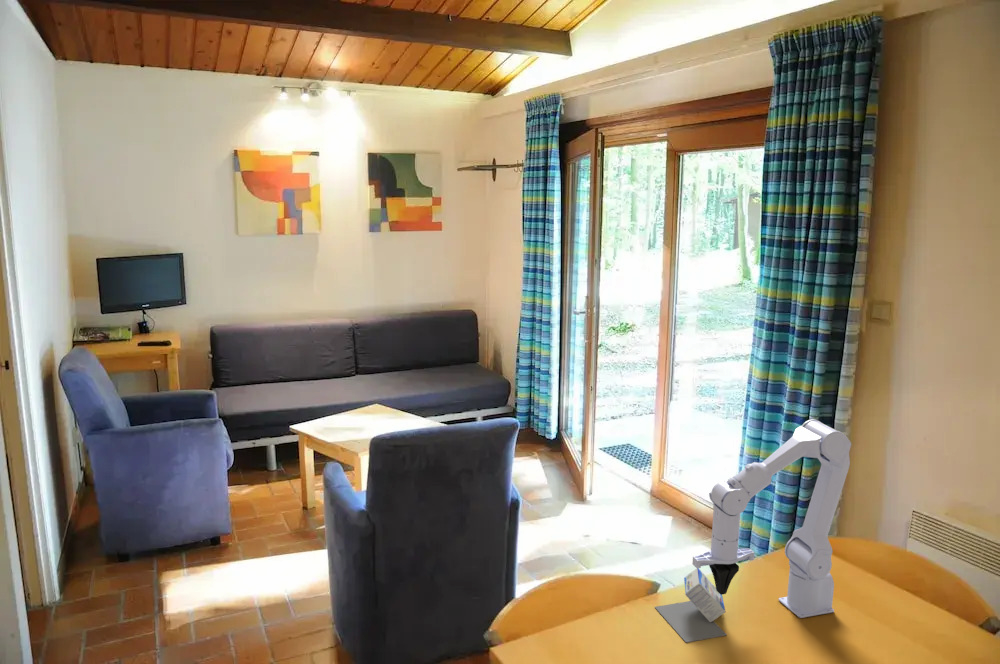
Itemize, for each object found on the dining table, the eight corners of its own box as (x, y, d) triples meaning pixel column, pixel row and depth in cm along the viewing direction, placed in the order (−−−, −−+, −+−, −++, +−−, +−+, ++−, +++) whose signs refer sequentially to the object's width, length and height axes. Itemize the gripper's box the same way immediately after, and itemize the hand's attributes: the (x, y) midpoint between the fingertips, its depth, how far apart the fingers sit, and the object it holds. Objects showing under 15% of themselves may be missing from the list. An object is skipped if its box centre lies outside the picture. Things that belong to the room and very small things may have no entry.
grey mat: (693, 601, 173) (693, 600, 173) (726, 635, 160) (726, 634, 160) (654, 607, 170) (654, 606, 170) (685, 642, 157) (685, 641, 157)
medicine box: (726, 612, 162) (700, 583, 163) (710, 623, 163) (684, 594, 164) (722, 595, 170) (697, 566, 170) (707, 605, 171) (682, 577, 171)
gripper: (742, 524, 169) (738, 578, 172) (686, 531, 165) (683, 587, 168) (761, 538, 162) (757, 594, 165) (703, 546, 158) (699, 603, 161)
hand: (721, 591), depth 166 cm, fingers closed
